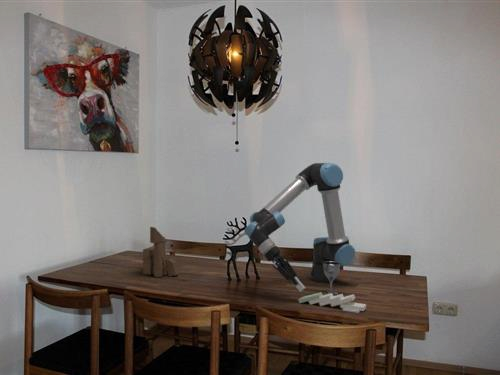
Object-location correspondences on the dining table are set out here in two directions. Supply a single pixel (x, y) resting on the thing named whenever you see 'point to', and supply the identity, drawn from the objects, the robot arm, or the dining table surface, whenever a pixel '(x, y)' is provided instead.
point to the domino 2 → (322, 298)
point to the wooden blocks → (158, 257)
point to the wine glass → (331, 273)
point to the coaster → (351, 310)
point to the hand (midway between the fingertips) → (302, 289)
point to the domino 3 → (332, 300)
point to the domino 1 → (310, 297)
